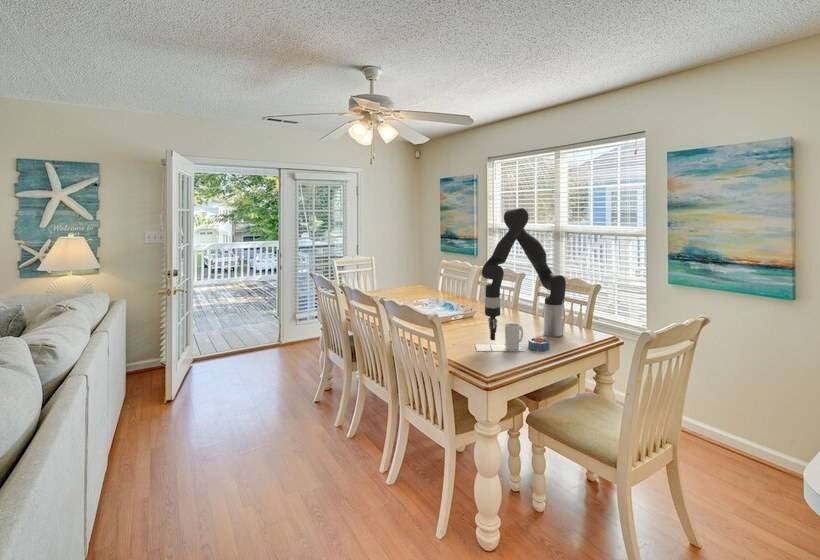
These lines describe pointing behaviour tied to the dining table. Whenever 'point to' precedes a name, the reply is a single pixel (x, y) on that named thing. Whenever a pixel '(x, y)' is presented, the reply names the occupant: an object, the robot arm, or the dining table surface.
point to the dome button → (539, 340)
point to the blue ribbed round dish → (538, 345)
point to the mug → (512, 336)
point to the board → (494, 348)
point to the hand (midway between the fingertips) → (492, 339)
